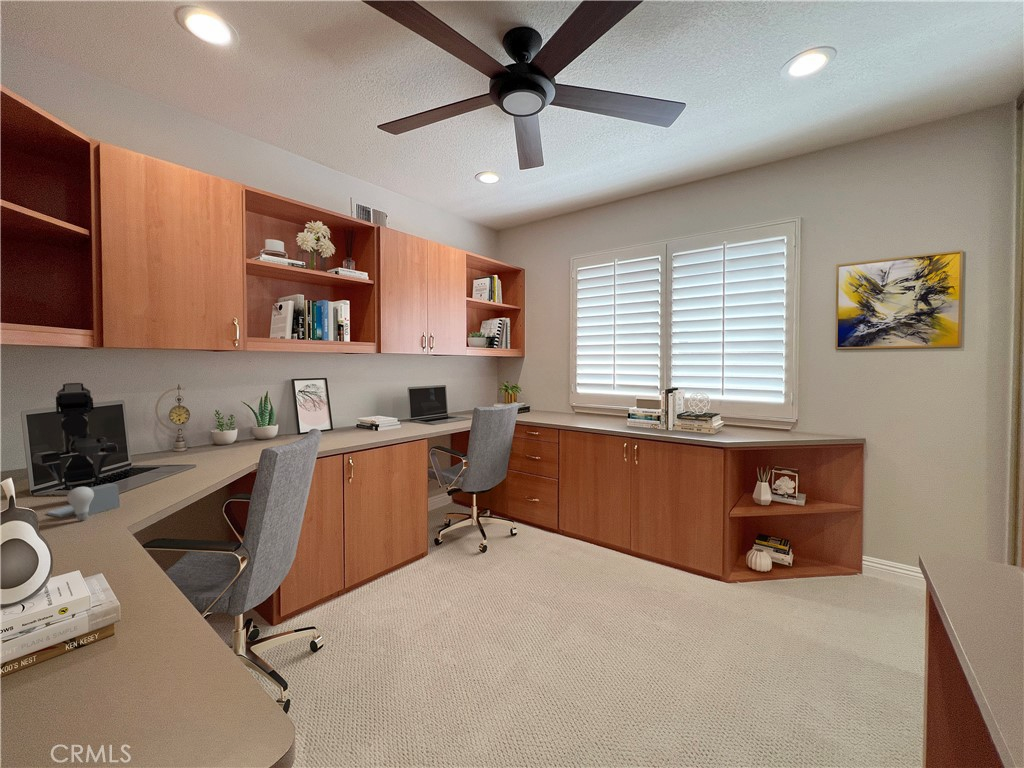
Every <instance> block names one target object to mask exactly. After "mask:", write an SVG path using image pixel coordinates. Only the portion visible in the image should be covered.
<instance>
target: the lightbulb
mask: <svg viewBox="0 0 1024 768" xmlns="http://www.w3.org/2000/svg"><path fill="white" fill-rule="evenodd" d="M93 497H94V492H93V490H92V489H90V488H88V487H77V488H75V489H73V490H71V489H70V491H69V493H68V494H67V495H66V502H67V501H68V502H67V503H68V504H69V506H72V507H73V508H74V511H75V514H76V515H75V517H76V520H77V521H81V522H83V521H85V520H86V519H88V517H89V515H88V511H89V505H90V503H91V501H92V499H93Z"/></svg>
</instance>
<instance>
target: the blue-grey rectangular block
mask: <svg viewBox="0 0 1024 768" xmlns="http://www.w3.org/2000/svg"><path fill="white" fill-rule="evenodd" d="M90 489H92V490H93V492H94V497H93V499H92V501H91V503H90V505H89V511H88V516H92V515H95V514H98V513H102V512H105V511H110V510H114V509H117V508H119V507H121V506H120V492H119V491H120V490H119V484H117V483H111V482H110V483H104V484H100V485H95V486H93V487H91V488H90ZM73 515H74V516H76V514H75V511H74V514H73Z"/></svg>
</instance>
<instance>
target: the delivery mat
mask: <svg viewBox="0 0 1024 768" xmlns="http://www.w3.org/2000/svg"><path fill="white" fill-rule="evenodd" d="M45 514H46V515H49V516H52V517H53V516H54V517H59V518H65V517H67V516H71V515H74V508H73V507H72V506H71V505H69V506H65V507H61V508H56V509H53V510H52V509H51V510H49V511H46V512H45Z"/></svg>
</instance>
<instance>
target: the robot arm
mask: <svg viewBox="0 0 1024 768" xmlns="http://www.w3.org/2000/svg"><path fill="white" fill-rule="evenodd" d="M55 409H56V410H55V411H56V416H61V415H63V416H62V417H61V425H60V427H61V429H62V434H61V435H60V437H61V439H63V447H62V448H61V451H60V452H59V451H51V450H50V451H49V450H48V451H44V452H37V453H35V454H33V456H32V463H33V464H39V465H40V466H44V467H45V468H46V469H47V470H48V471H49V472H50V473H51V475H52V476H53V478H55V480H56V482H57V484H63V480H64V489H65V488H70V491H71V490H73V489H75V488H77V487H88V488H91V487H94V485H93V484H96V483H98V482H100V474H101V472H102V469H103V467H104V464H105V462H106V461H107V459H108V458H109V457H110V456H113V455H114V453H116V452H119V446H118V444H117V443H115V442H108V439H107V437H104V436H103V437H97V438H93V435H92V433H91V432H89V430H90V429H89V420H88V418H89V416H88V415H87V413H92V411H93V410H94V398H93V396H92V395H91V390H90V389H88V388H86V387H84V383H83V382H69V383H68V382H67V383H62V388H60V390H58V391H57V393H56V396H55ZM90 455H92V459H93V460H92V459H91V458H90V457H89V456H90ZM65 458H70V459H69V461H68V462H67V464H66V466H65V470H63V474H62V469H61V467H62V464H63V462H62V461H60V459H65ZM66 503H69V502H68V501H67V500H66Z"/></svg>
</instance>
